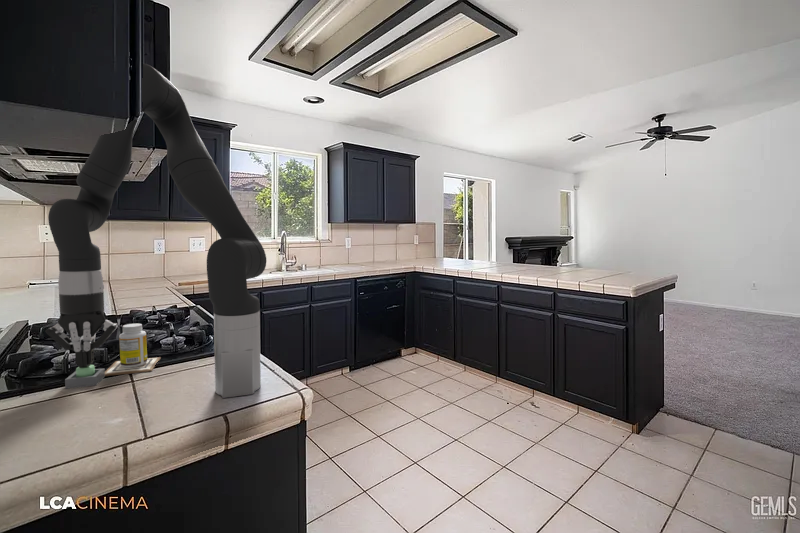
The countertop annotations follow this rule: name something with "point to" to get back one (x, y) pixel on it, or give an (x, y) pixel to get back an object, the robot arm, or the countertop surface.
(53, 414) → the countertop surface
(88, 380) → the button housing
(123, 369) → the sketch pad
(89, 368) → the button
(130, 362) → the supplement bottle
